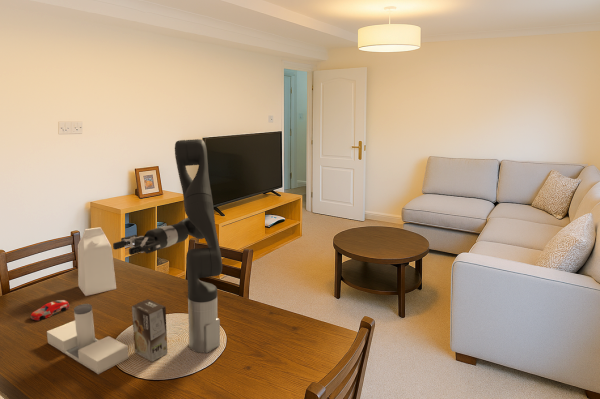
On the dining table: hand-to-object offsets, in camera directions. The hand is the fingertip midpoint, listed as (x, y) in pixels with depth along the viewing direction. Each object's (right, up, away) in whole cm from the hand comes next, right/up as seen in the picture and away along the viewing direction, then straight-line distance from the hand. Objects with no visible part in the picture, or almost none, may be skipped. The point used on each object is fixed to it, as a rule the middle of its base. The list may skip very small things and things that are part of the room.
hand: (121, 249), depth 141 cm
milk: (-27, -21, +40) cm, 53 cm away
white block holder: (-9, -31, -5) cm, 33 cm away
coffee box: (+11, -32, -5) cm, 35 cm away
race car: (-34, -26, +17) cm, 46 cm away
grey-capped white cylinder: (-9, -31, -5) cm, 32 cm away
